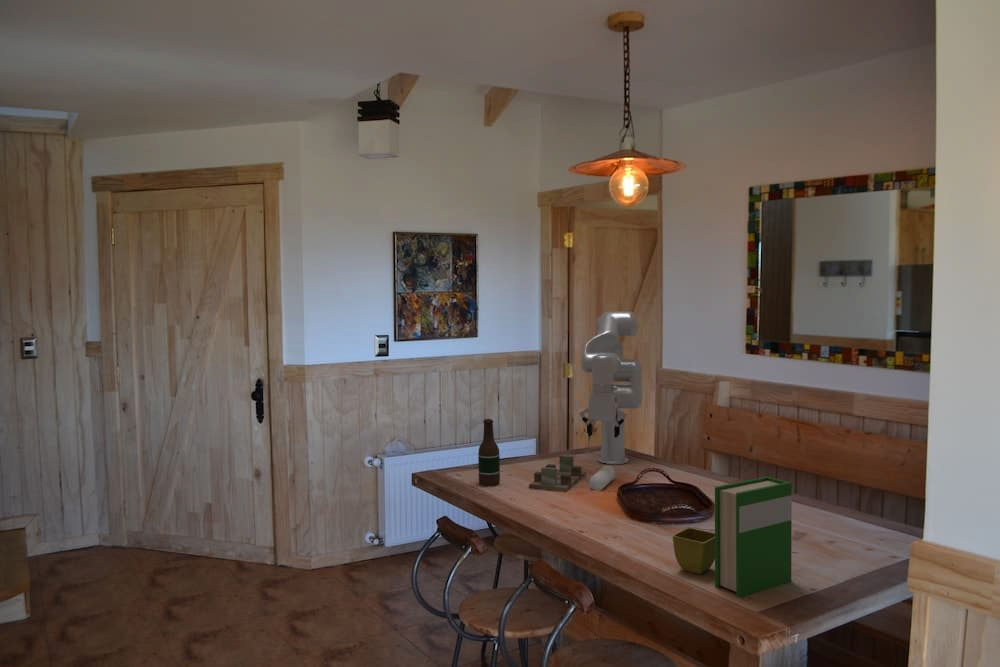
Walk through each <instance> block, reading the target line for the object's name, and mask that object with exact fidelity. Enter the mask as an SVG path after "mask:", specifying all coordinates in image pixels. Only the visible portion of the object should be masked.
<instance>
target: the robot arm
mask: <svg viewBox="0 0 1000 667" xmlns="http://www.w3.org/2000/svg"><path fill="white" fill-rule="evenodd" d="M639 326H640V324H639V320H638V317H637V315H636V314H635V313H634V312H632V311H630V310H629V311H628V310H627V311H626V310H624V311H622V310H619V311H615V310H614V311H613V310H612V311H605V312H602V314H601V315H600V316H599V317H598V318H596V320H595V330H596V335H595V336H594V337H591V339H589V340H588V341H587V342H586V343H585V344H584V346H583V350H582V354H581V360H580V365H581V369H582V371H583V372H585V373H587V374H591V384H592V386H591V387H592V388H591V389H592V390H591V392H590V395H589V399H588V400H589V401H588V407H587V408H586V409H584V410H582V411H580V412H579V416H580V418H581V420H582V422H584V423H585V425H586V433H587V436H588V437H592V435H593V424H592V423H593V422H594V421H600V434H601V435H600V436H601V437H600V439H601V440H600V442H601V443H600V444H601V445H600V446H601V452H600V454H601V456H599V457H598V458H597V462H598V461H599V462H598V463H600V462H601V463H600V464H603V463H606V464H605V465H622V464H623V465H624V463H625V464H628V463H629V460H630V459H629V458H628V457H626V454H625V452H626V451H625V450H626V449H625V448H626V447H625V445H626V442H625V438H626V437H625V436H626V434H625V429H626V428H625V420H626V419H627V417H628V414H627V413H626V412H624V411H623V410H620V409H628V410H629V409H630V410H631V409H638V408H640V407H641V406H642V402H643V372H642V368H643V367H642V365H641V362H640V360H638V359H637V358H624V346H623V344H622V342H621V341H620V337H635V336H637V334H638V332H639V328H640V327H639ZM614 382H615V383H629V384H614ZM587 413H588V418H587V417H586V414H587Z"/></svg>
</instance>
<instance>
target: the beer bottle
mask: <svg viewBox="0 0 1000 667" xmlns="http://www.w3.org/2000/svg"><path fill="white" fill-rule="evenodd" d="M482 422H483V439H482V441H481V443H480V445H479V448H478V453H477V454H478V458H477V459H478V461H477V462H478V484H479V485H480V484H481V485H484V486H483V487H487V486H491V487H496V486H495V485H497V486H498V484H499V485H500V481H501V474H500V473H501V472H500V471H501V470H500V467H501V466H500V464H501V463H500V457H501V456H500V449H499V446H498V444H497V443H496V441H495V436H494V435H495V434H494V424H493V423H494V420H493V419H492V418H486V419H483V421H482ZM481 485H480V486H481Z"/></svg>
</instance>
